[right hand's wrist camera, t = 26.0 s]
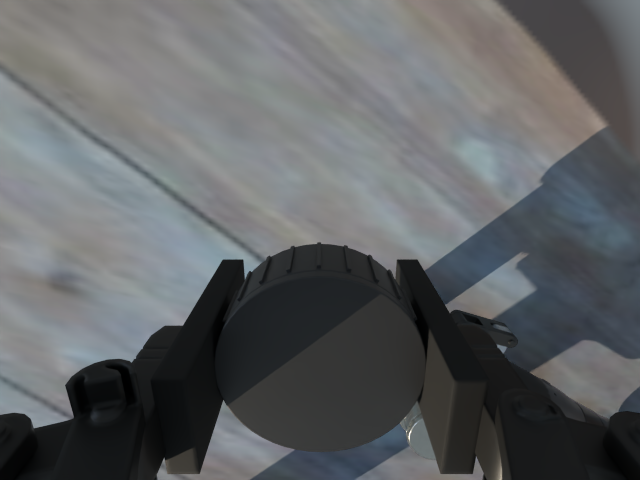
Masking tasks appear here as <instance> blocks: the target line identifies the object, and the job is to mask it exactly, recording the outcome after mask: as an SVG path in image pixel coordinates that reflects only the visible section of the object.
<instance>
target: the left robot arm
mask: <svg viewBox="0 0 640 480" xmlns="http://www.w3.org/2000/svg"><path fill="white" fill-rule="evenodd" d="M450 315H451V316H452V318H453V320H454V321H455V323H456V325H477V326H478V327H480V328H481V329H482V330H484V331H485V332H487V333H488V334H489V335H490V336H491V337H492V339H493V340H494V342H495V343H496V344H497V347H498V348H499V349H500V350H501V351H502V353H503V354H504V352H505V350H506V349H507V347H508V348H512V347H515V346H516V345H517V343H518V340H517V338H516V337H515V336H514V335H513V333H512V332H511V331H510V330H509V328H508V327H507V326H506V325H505V324H504V323H501V322H497V321H494V320H491V319H487V318H484V317H480V316H477V315H473V314H470V313H466V312H463V311H460V310H454V311H452V312H451V313H450ZM509 363H510V364H511V365H512V367H513V368H514V370H515V371H516V372H517V374H518V375H519V377H520V378H521V379H522V381H523V382H524V383H525V385H526V386H527V388H528V389H529V390H530V391H534V392H537V393H539V394H541V395H543V396H545V397H547V398H549V399H551V400H552V401H553V402H554V403H555V404H557V405H558V406H559V407H560V408H561V410H562V411H563V413H564V414H565V416H566V417H568V418H571V419H575V420H578V421H583V422H587V423H591V424H596V425H600V426H604V427H607V426H608V423H609V420H610V419H608V418H606V417H603V416H600V415H598V414H597V413H595V412H594V411H592V410H591V409H589V408H587V407H585V406H583V405H582V404H580V403H578V402H576V401H574V400H573V399H571V398H569V397H568V396H566V395H565V394H564V393H563V392H561V391H560V390H559V389H557V388H555V387H554V386H552V385H551V384H550V383H549V382H547V381H545V380H544V379H541V378H538V377H536V376H534V375H532V374H531V373H529V372H527V371H525V370H523V369H522V368H520V367H518V366H516V365H514V364H513V363H511V362H509Z"/></svg>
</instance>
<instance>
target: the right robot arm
mask: <svg viewBox="0 0 640 480" xmlns="http://www.w3.org/2000/svg"><path fill="white" fill-rule="evenodd" d="M244 281H245V276H244V263H243V260H222V262H221V264H220V265H219V267H218V269H217V270H216V272H215V274H214V275H213V277H212V279H211V280H210V282H209V284H208V285H207V287H206V288H205V290H204V292H203V293H202V295H201V297H200V298H199V300H198V302H197V303H196V305H195V307H194V308H193V310H192V312H191V313H190V315H189V317H188V318H187V320H186V322H185V323H184V325H183V326H164V327H163V328H161V329H160V330H158V331H157V332H156V333H154V334H153V335H151V337H150V338H149V339H148V341H147V342H146V344H145V345H144V346H143V349H141V351H140V352H139V353H138V355H137V356H136V359H134V360H133V362H132V363H131V362H130V361H127V360H122V359H110V360H105V361H101V362H97V363H94V364H92V365H90V366H87V367H85V368H83V369H81V370H80V371H79V372H77V373H76V374H75V375H73V376H72V377H71V378H70V380H69V381H68V382H67V384H66V385H65V386H66V390H67V393H68V397H69V400H70V404H71V408H72V411H73V415H74V419H71V420H68V421H64V422H60V423H56V424H51V425H47V426H43V427H39V428H33V425H32V422H31V419H30V418H29V417H28V416H26V415H25V414H19V413H10V414H4V415H0V480H157V473H158V470H159V468H160V466H161V463H162V461H163V459H164V457H165V463H166V468H167V474H200V471H201V468H202V465H203V461H204V458H205V455H206V452H207V449H208V446H209V443H210V440H211V436H212V433H213V430H214V427H215V424H216V421H217V418H218V415H219V412H220V408H221V405H222V402H223V398H222V396H221V394H220V391H219V388H218V386H217V382H216V375H215V365H214V357H215V349H216V345H217V342H218V338H219V336H220V334H221V331H222V329H223V327H224V324H225V323H224V322H222V321H223V319H224V316H225V314H226V312H227V310H228V307H229V305H230V303H231V301H232V298H233V296H234V294H235V292H236V290H237V291H239V290H240V288H241V286H242V285H243V283H244ZM396 282H397V283H398V284H399V286H400V288H401V289H403V288H404V290H405V292H406V294H407V297H408V299H409V301H410V303H411V306H412V308H413V310H414V313H415V315H416V317H417V320H416V321H415V322H416V325H417V327H418V329H419V332H420V334H421V337H422V340H423V343H424V346H425V352H426V371H425V379H424V385H423V388H422V391H421V394H420V396H419V398H418V400H417V401H418V405H419V408H420V411H421V414H422V417H423V420H424V423H425V426H426V430H427V433H428V436H429V439H430V442H431V445H432V448H433V451H434V454H435V458H436V461H437V464H438V467H439V470H440V473H441V474H473V470H474V464H475V459H476V456H477V459H478V461H479V463H480V466H481V468H482V470H483V472H484V475H483V480H640V413H635V412H628V411H625V412H617V413H615V414H614V415H613V416H611V417H610V420H609V423H608V426H607V427H604V426H600V425H596V424H591V423H587V422H583V421H578V420H575V419H571V418H568V417H566V416H565V414H564V413H563V411H562V410H561V408H560V407H559V406H558V405H557V404H555V403H554V402H553V401H552V400H551V399H549V398H547V397H545V396H543V395H541V394H539V393H537V392H534V391H530V390H529V389H528V388H527V386H526V385H525V383H524V382H523V381H522V379H521V378H520V377H519V375H518V374H517V372H516V371H515V370H514V368H513V367H512V365H511V364H510V363H509V361H508V360H507V358H505V357H504V354H503V353H502V351H501V350H500V349H499V348H498V347H497V344H496V343H495V342H494V340H493V339H492V337H491V336H490V335H489V334H488V333H487V332H485V331H484V330H482V329H481V328H480V327H478V326H477V325H456V323H455V321H454V320H453V318H452V316H451V315H450V313H449V311H448V310H447V308H446V306H445V305H444V303H443V301H442V300H441V298H440V296H439V295H438V293H437V291H436V290H435V288H434V286H433V285H432V283H431V281H430V280H429V278H428V276H427V275H426V273H425V271H424V270H423V268H422V267H421V265H420V263H419V262H418V260H397V266H396Z"/></svg>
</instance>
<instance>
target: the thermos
mask: <svg viewBox="0 0 640 480" xmlns="http://www.w3.org/2000/svg"><path fill="white" fill-rule="evenodd" d="M400 424H401V426H402V428H403V429H404V430H405V431H406V439H407V442H408V444H409V446H410V447H411V448H412V449H413V451H414V452H415V453H417V454H418V455H419V456H421V457H424V458H427V459H431V460H436V458H435V454H434V451H433V448H432V445H431V442H430V439H429V436H428V433H427V430H426V426H425V423H424V420H423V417H422V414H421V411H420V408H419V405H418V401H417V402H416V404H415V405H414V406H413V408H412V409H411V411H410V412H409V413H408V414H407V416H406V417H405V418H404V419H403V420H402V421H401V422H400Z"/></svg>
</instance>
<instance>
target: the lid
mask: <svg viewBox="0 0 640 480" xmlns="http://www.w3.org/2000/svg"><path fill="white" fill-rule="evenodd" d="M416 320H417V317H416V315H415V313H414V310H413V308H412V306H411V303H410V301H409V299H408V297H407V294H406V292H405V290H404V288H403V289H401V288H400V286H399V284H398V283H397V282H396V280H395V279H394V277H393V274H392V272H391V271H390V270H388V271H387V270H386V269H385V268H384V267H383V266H382V265H381V264H379V263H378V262H377V261H375V260H374V259H373V258H372V256H371V255H368V256H367V255H365V254H363V253H361V252H358V251H356V250H353V249H350V248H348V246H345V245H344V247H343V246H337V245H330V244H321V242H319V243H317V244H312V245H304V246H299V247H294V246H292V247H291V248H290V249H288V250H285V251H282V252H280V253H278V254H276V255H274V256H272V257H270V256H268V257H267V259H266V261H264V262H263V263H261V264H260V265H259V266H258V267H257V268H256V269H255V270H253V271H252V272H251V271H249V273H248V274H247V277H246V279H245V281H244V283H243V285H242V286H241V288H240V290H239V291H237V290H236V292H235V294H234V296H233V298H232V301H231V303H230V305H229V307H228V310H227V312H226V314H225V316H224V319H223V321H222V322H224V323H225V324H224V327H223V329H222V331H221V334H220V336H219V338H218V342H217V345H216V349H215V357H214V365H215V375H216V382H217V386H218V388H219V391H220V394H221V396H222V398H223V400H224V401H225V403H226V405H227V407H228V408H229V409H230V410H231V412H232V413H233V414H234V416H235V417H236V418H237V419H238V420H239V421H240V422H241V423H242V424H243V425H245V426H246V427H247V428H249V429H250V430H251V431H252V432H254V433H256V434H257V435H259V436H261V437H262V438H264V439H266V440H269V441H271V442H273V443H275V444H278V445H281V446H284V447H288V448H292V449H296V450H302V451H310V452H329V451H339V450H345V449H350V448H353V447H357V446H360V445H363V444H366V443H368V442H371V441H373V440H375V439H377V438H379V437H381V436H382V435H384V434H386V433H387V432H389V431H390V430H392V429H393V428H394V427H395V426H396V425H398V424H399V423H400V422H401V421H402V420H403V419H404V418H405V417H406V416H407V414H408V413H409V412H410V411H411V409H412V408H413V406H414V405H415V404H416V402H417V400H418V398H419V396H420V394H421V391H422V388H423V385H424V379H425V371H426V352H425V346H424V343H423V340H422V337H421V334H420V332H419V329H418V327H417V325H416V322H415V321H416Z"/></svg>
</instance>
